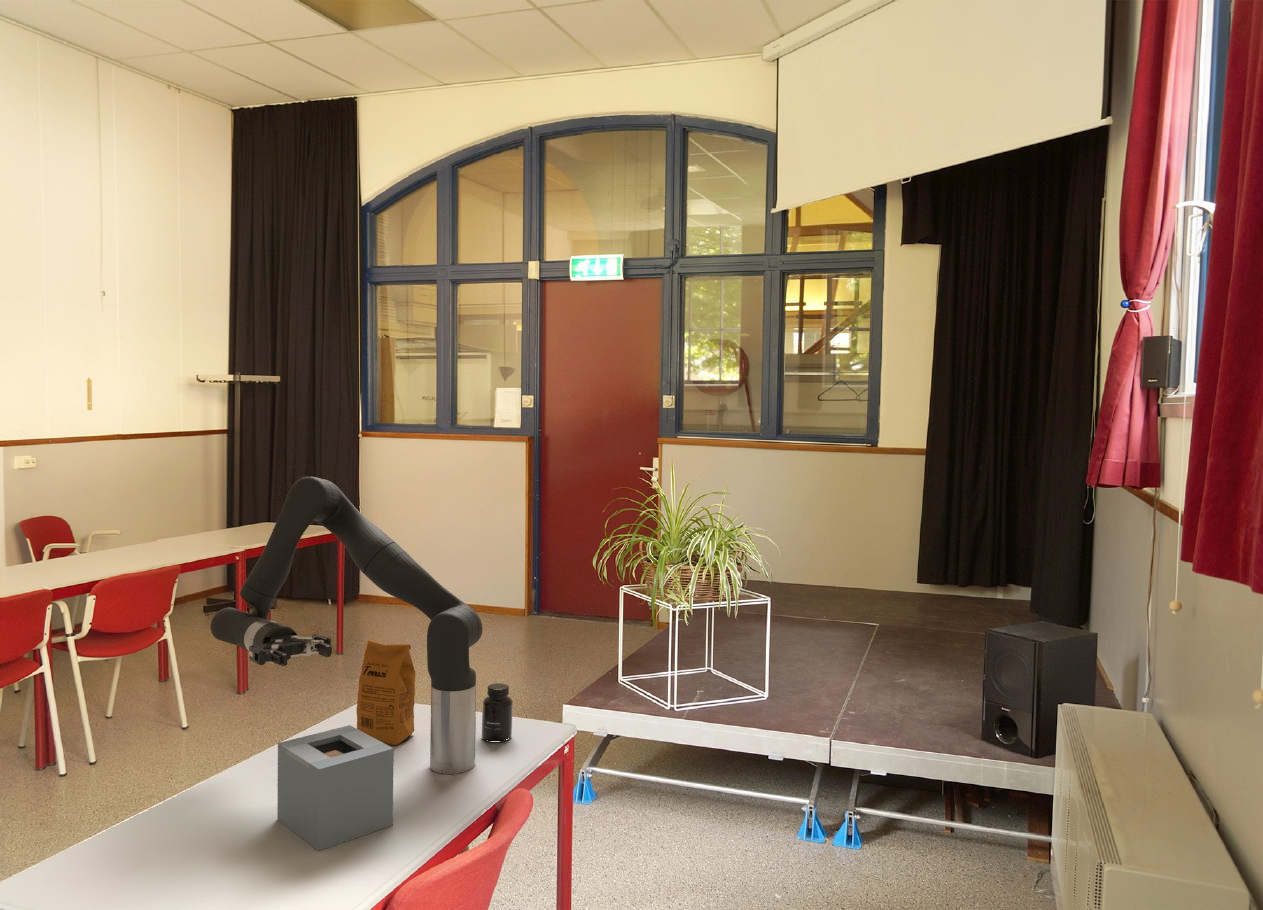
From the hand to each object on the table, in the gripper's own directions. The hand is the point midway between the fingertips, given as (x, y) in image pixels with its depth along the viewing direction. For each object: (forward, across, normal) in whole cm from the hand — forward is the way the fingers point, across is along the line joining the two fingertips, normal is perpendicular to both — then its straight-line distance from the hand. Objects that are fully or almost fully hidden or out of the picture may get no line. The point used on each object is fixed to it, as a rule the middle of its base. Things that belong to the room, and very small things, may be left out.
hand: (307, 655), depth 167 cm
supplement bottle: (-4, +46, +29) cm, 55 cm away
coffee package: (-21, +28, +28) cm, 45 cm away
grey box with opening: (+10, 0, +28) cm, 30 cm away
